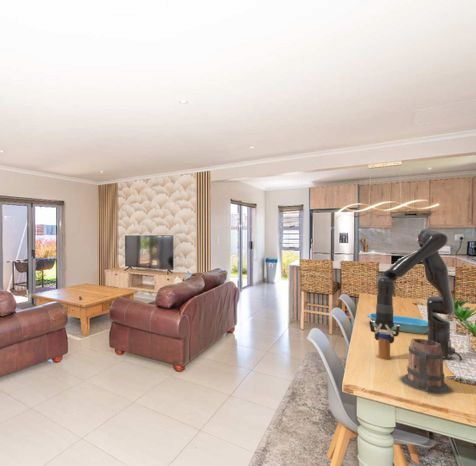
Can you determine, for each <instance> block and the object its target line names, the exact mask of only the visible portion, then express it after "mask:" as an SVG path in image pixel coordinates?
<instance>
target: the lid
mask: <svg viewBox="0 0 476 466" xmlns="http://www.w3.org/2000/svg"><path fill="white" fill-rule="evenodd" d="M390 336H391V335H390V333H389V332H388V331H379V332H378V337H380V338H384V339H390Z"/></svg>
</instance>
